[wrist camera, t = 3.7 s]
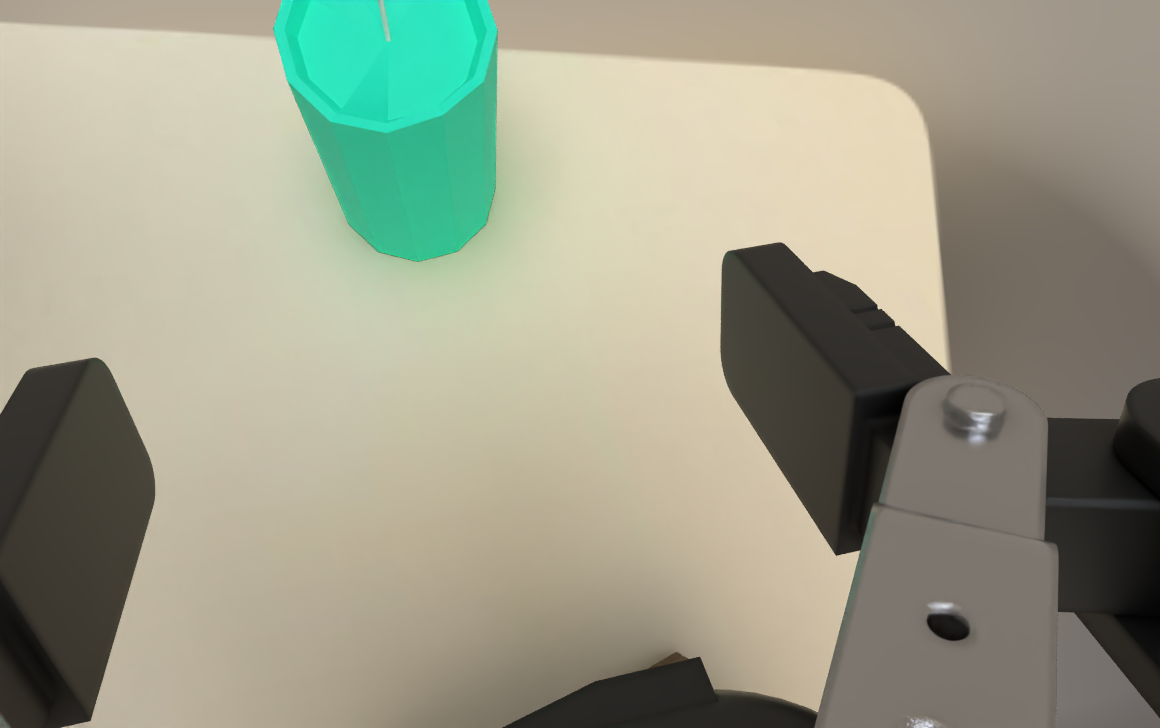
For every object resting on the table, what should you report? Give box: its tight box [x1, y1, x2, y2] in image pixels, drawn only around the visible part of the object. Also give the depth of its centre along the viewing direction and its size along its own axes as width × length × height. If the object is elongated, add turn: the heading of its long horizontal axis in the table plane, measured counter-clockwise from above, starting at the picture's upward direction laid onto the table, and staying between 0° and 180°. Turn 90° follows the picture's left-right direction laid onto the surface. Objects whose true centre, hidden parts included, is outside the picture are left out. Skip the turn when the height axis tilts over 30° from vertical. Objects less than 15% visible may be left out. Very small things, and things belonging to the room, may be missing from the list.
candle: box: [273, 0, 498, 262], centre depth 28 cm, size 6×6×12 cm
